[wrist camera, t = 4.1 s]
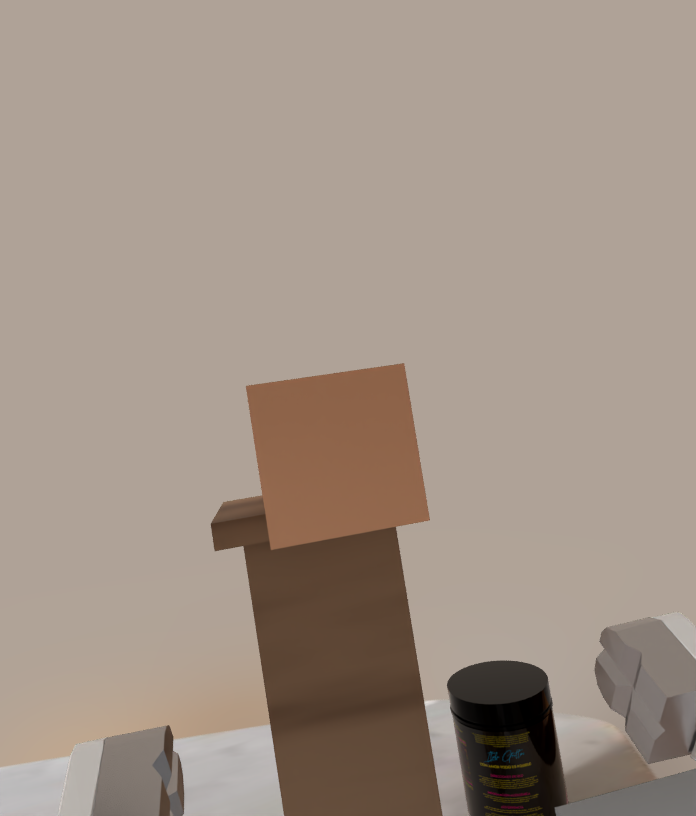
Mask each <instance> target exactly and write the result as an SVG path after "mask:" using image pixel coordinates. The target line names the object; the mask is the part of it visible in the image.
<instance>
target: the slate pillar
mask: <svg viewBox="0 0 696 816" xmlns="http://www.w3.org/2000/svg"><path fill="white" fill-rule="evenodd" d="M555 812H556V816H696V769H693V770H689V771H686V772H682V773H678V774H675V775H671V776H668V777H664V778H660V779H657V780H653V781H649V782H646V783H642V784H639V785H635V786H631V787H628V788H624V789H620V790H617V791H613V792H610V793H606V794H602V795H599V796H595V797H591V798H588V799H584V800H581V801H577V802H573V803H570V804H566V805H563V806H559V807H555Z"/></svg>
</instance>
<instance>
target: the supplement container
mask: <svg viewBox="0 0 696 816" xmlns="http://www.w3.org/2000/svg"><path fill="white" fill-rule="evenodd" d="M447 688H448V694H449V700H450V709H451V713H452V715H453V722H454V728H455V734H456V740H457V746H458V752H459V758H460V764H461V771H462V777H463V783H464V789H465V795H466V801H467V807H468V813H469V816H556V812H555V807H559V806H563V805H566V804H569V802H568V796H567V791H566V785H565V779H564V773H563V767H562V761H561V755H560V749H559V744H558V738H557V732H556V726H555V720H554V714H553V708H552V706H553V703H552V698H551V694H550V688H549V682H548V677H547V675H546V673H545V672H544V671H543V670H542V669H540V668H538V667H536V666H534V665H531V664H528V663H523V662H518V661H490V662H483V663H479V664H475V665H471V666H468V667H466V668H463V669H461V670H459V671H458V672H456V673H455V674H453V675H452V676H451V677H450V679H449V680H448V683H447Z"/></svg>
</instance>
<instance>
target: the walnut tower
mask: <svg viewBox="0 0 696 816" xmlns="http://www.w3.org/2000/svg"><path fill="white" fill-rule="evenodd" d="M211 528H212V536H213V542H214V549H215V551H218V550H224V549H229V548H235V547H240V546H244V552H245V559H246V566H247V572H248V578H249V586H250V592H251V599H252V605H253V612H254V618H255V625H256V632H257V639H258V645H259V652H260V658H261V665H262V671H263V678H264V685H265V691H266V698H267V704H268V711H269V718H270V725H271V731H272V738H273V744H274V751H275V758H276V764H277V771H278V778H279V784H280V791H281V797H282V804H283V811H284V816H442V810H441V804H440V797H439V791H438V785H437V779H436V773H435V766H434V760H433V754H432V748H431V742H430V736H429V729H428V723H427V717H426V711H425V705H424V698H423V693H422V686H421V680H420V674H419V667H418V661H417V655H416V649H415V643H414V637H413V631H412V624H411V618H410V612H409V606H408V599H407V593H406V587H405V581H404V575H403V569H402V563H401V556H400V550H399V544H398V538H397V531H396V527H391V528H386V529H381V530H375V531H370V532H365V533H359V534H354V535H349V536H343V537H338V538H333V539H327V540H322V541H317V542H311V543H306V544H301V545H295V546H290V547H285V548H279V549H274V550H271V547H270V541H269V534H268V528H267V521H266V515H265V508H264V502H263V495H262V496H256V497H251V498H245V499H239V500H233V501H227V502H223V504H222V506H221V507H220V509H219V511H218V512H217V514H216V516H215V517H214V519H213V521H212V523H211Z"/></svg>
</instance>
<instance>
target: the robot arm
mask: <svg viewBox="0 0 696 816" xmlns="http://www.w3.org/2000/svg"><path fill="white" fill-rule="evenodd" d="M600 643H601V644H602V646H603V647H604V650H603V651H602V652H601V653H600V654H599V656H598V657H597V658H596V664H595V675H596V679H597V684H598V687H599V689H600V691H601V693H602V695H603V698H604V699H605V701H606V702H607V704H608V705H609V707H610V708H611V709H612V710H613V711H615V712H617V713H618V714H620V715H622V716H623V717H625V718H626V723H625V726H626V727H625V730H626V732H627V734H628V735H629V737H630V738H631V740H632V741H633V742H634V744H635V746H636V747H637V749H638V750H639V752H640V753H641V755H642V756H643V757H644V759H645V760H646V762H647V763H648V764H650V763H655V762H659V761H664V760H667V759H672V758H676V757H681V756H685V755H689V754H691V758H693V759H694V760H695V761H696V627H695V626H694V625H693V624H692V622H691V621H690V620H689V619H688V618H687V617H686V616H685V615H683V614H681V613H679V612H674V613H669V614H665V615H661V616H657V617H653V618H651V617H648V618H645V619H640V620H636V621H632V622H627V623H623V624H619V625H615V626H611V627H607V628H605V629H604V630H603V631H602V633H601V637H600ZM183 814H184V785H183V773H182V767H181V762H180V758H179V755H178V753H176V752H174V751H173V735H172V732H171V729H170V726H169V725H168V726H163V727H158V728H153V729H148V730H143V731H138V732H133V733H128V734H122V735H117V736H112V737H107V738H102V739H97V740H93V741H88V742H84V743H79V744H76V745H75V747H74V749H73V751H72V753H71V755H70V759H69V764H68V769H67V773H66V778H65V783H64V788H63V793H62V797H61V802H60V807H59V812H58V816H182V815H183Z"/></svg>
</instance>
